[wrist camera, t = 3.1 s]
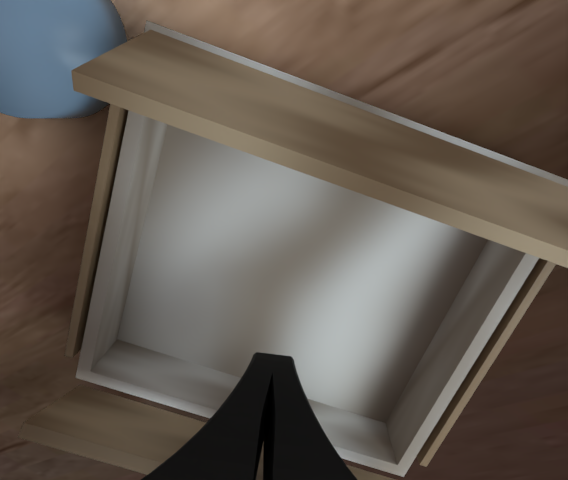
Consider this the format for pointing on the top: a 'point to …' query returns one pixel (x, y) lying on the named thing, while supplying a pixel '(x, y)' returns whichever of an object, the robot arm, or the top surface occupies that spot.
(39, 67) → the blue pebble
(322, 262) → the carton
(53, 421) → the flap
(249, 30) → the top surface
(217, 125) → the flap
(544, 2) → the top surface
